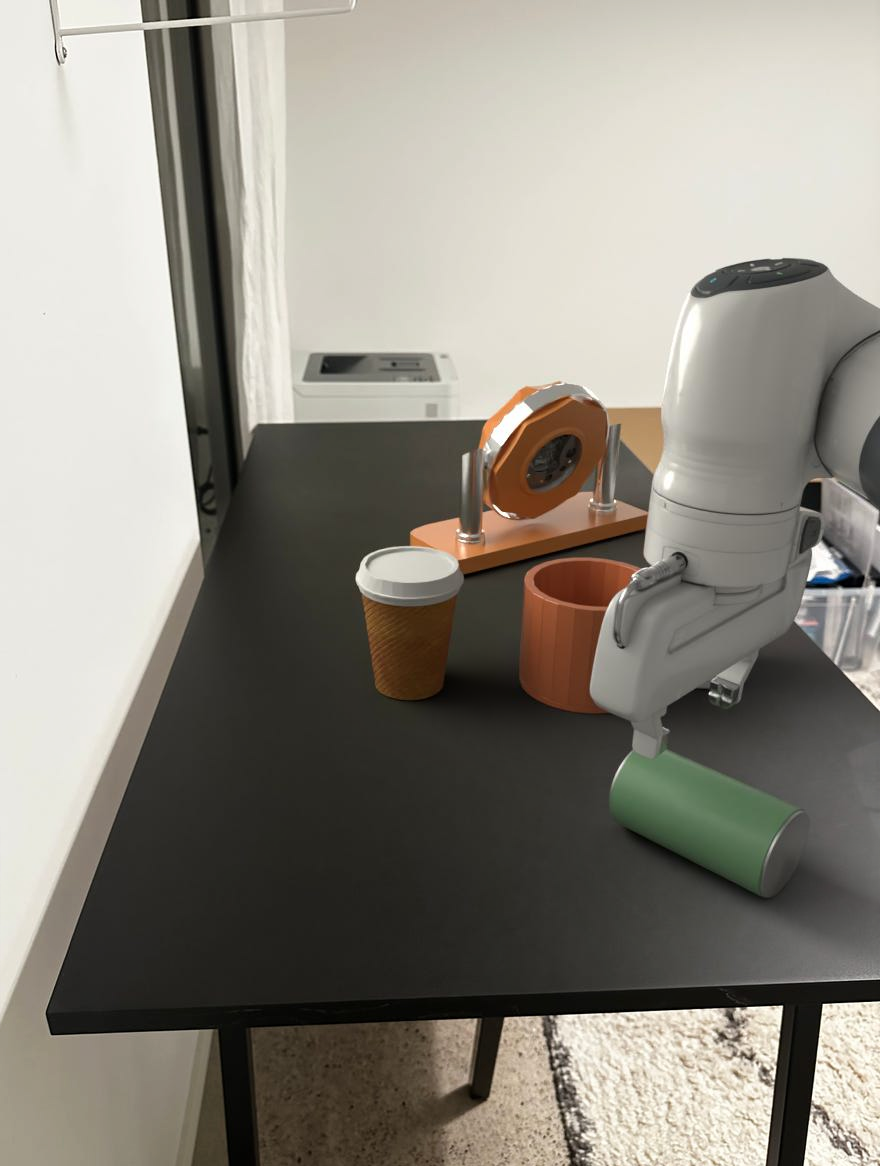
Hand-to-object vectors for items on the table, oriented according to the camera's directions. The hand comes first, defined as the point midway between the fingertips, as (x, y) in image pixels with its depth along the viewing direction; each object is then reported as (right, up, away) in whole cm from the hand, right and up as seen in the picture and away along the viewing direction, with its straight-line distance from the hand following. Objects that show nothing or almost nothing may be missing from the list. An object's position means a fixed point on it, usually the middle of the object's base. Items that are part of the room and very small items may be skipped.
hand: (687, 727), depth 71 cm
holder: (-2, +2, +26) cm, 26 cm away
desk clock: (-3, +18, +59) cm, 62 cm away
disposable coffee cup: (-19, +2, +25) cm, 32 cm away
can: (+2, -9, +3) cm, 10 cm away
